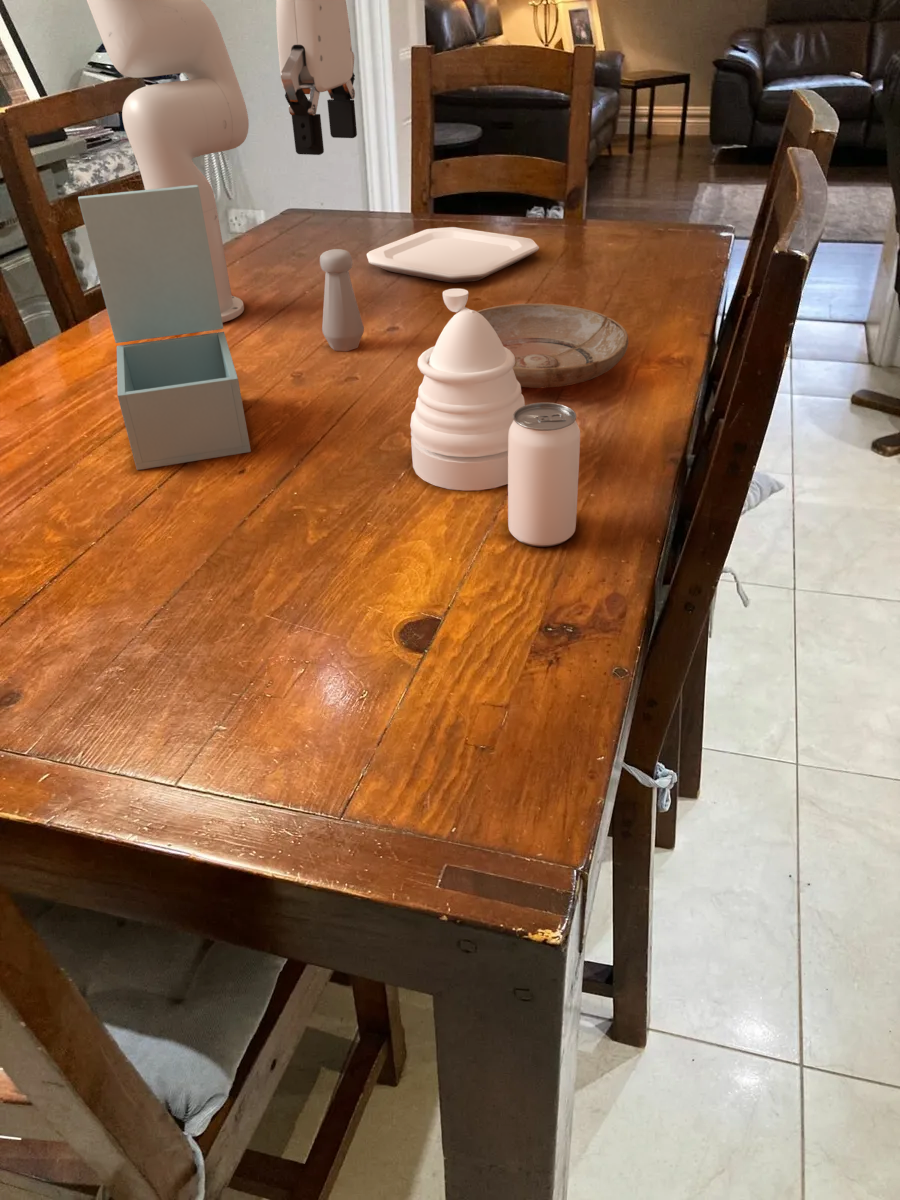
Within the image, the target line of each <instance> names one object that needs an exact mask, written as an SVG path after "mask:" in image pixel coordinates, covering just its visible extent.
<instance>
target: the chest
mask: <svg viewBox="0 0 900 1200" xmlns="http://www.w3.org/2000/svg"><path fill="white" fill-rule="evenodd" d="M116 378H117V379H116V381H117V382H116V383H117V386H116V387H117V399H118V404H119V407H120V411H121V415H122V418H123V422H124V427H125V429H126V430H125V431H126V434H127V437H128V441H129V445H130V449H131V452H132V456H133V461H134V464H135V468H136V471H141V470H147V469H148V470H149V469H154V468H160V467H166V466H173V465H178V464H184V463H190V462H196V461H202V460H210V459H214V458H223V457H229V456H233V455H240V454H246V453H251V452H252V450H251V445H250V439H249V438H250V437H249V433H248V427H247V421H246V415H245V410H244V405H243V398H242V393H241V388H240V383H239V378H238V374H237V371H236V367H235V364H234V361H233V357H232V354H231V350H230V347H229V344H228V341H227V337H226V333H225V331H218V332H210V333H201V334H195V335H189V336H181V337H174V338H166V339H158V340H151V341H143V342H135V343H128V344H119V345H116Z"/></svg>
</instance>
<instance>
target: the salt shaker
mask: <svg viewBox="0 0 900 1200" xmlns="http://www.w3.org/2000/svg"><path fill="white" fill-rule="evenodd" d="M319 265H320V268H321V270H322V271H323V272H325V276H324V290H323V292H324V293H323V307H322V308H323V309H322V327H321V331H322V335H323V336H324V338H325V340H326V342H327V343H328V345H329V347H330V348H331V349H332V350H333V351H337V352H349V351H352V350H355V349H358V348H359V345H360V343H361V340H362V337H363V335H364V333H365V326H364V323H363V319H362V316H361V313H360V310H359V305H358V302H357V299H356V295H355V291H354V288H353V283H352V279H351V276H350V270H351V269H352V268H353V257H352V254H351V253H350V251H348V250H346V249H341V248H333V249H329V250H326V251H324V252H322V253H321V254H320V256H319Z"/></svg>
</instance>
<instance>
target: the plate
mask: <svg viewBox="0 0 900 1200" xmlns="http://www.w3.org/2000/svg"><path fill="white" fill-rule="evenodd" d="M539 250H540V246H539V245H538V243H536V242H535V241H534V239H532V238H530V237H525V236H524V237H523V236H517V235H510V234H503V233H496V232H489V231H483V230H476V229H470V228H462V227H456V226H449V227H447V226H446V227H437V228H435V227H434V228H427V229H423V230H420V231H418V232H416V233H412V234H411V235H408V236H405V237H402V238H400V239H398V240H395V241H392V242H390V243H387V244H384V245H382V246H379V247H377V248H374V249H372V250H370V251H368V252H367V253H366V258H367V261H368V264H369V265H372V266H374V267H377V268H380V269H383V270H385V271H388V272H391V273H397V274H401V275H407V276H413V277H417V278H423V279H429V280H435V281H439V282H445V283H450V284H452V283H453V284H455V283H468V282H477V281H480V280H482V279H485V278H487V277H488V276H490V275H493V274H494V273H497V272H498V271H501V270H503V269H505V268H507V267H509V266H511V265H513V264H516V263H518V262H520V261H522V260H523V259H525V258H527V257H529V256H530V255H533V254H534V253H536V252H538V251H539Z"/></svg>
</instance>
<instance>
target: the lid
mask: <svg viewBox="0 0 900 1200" xmlns="http://www.w3.org/2000/svg"><path fill="white" fill-rule="evenodd" d="M77 197H78V198H77V200H78V203H79V207H80V211H81V215H82V219H83V223H84V227H85V230H86V235H87V238H88V242H89V246H90V250H91V254H92V258H93V262H94V265H95V270H96V273H97V276H98V281H99V284H100V289H101V293H102V297H103V300H104V304H105V307H106V312H107V315H108V319H109V324H110V328H111V330H112V333H113V338H114V342H115V344H121V343H128V342H136V341H143V340H150V339H158V338H166V337H173V336H179V335H188V334H195V333H203V332H210V331H218V330H224V322H223V323H222V317H221V311H220V306H219V300H218V295H217V289H216V283H215V278H214V272H213V266H212V261H211V255H210V250H209V244H208V238H207V233H206V227H205V222H204V216H203V210H202V205H201V199H200V193H199V188H198V185H190V186H180V187H170V188H160V189H150V190H145V189H140V190H130V191H121V192H120V191H119V192H111V193H101V194H90V195H80V196H77Z"/></svg>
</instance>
